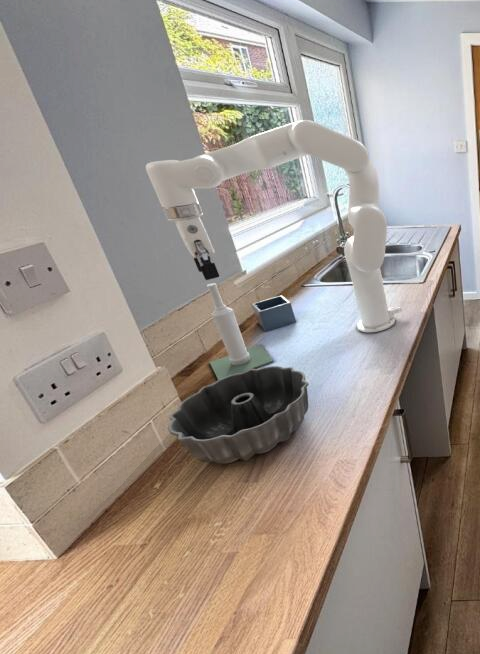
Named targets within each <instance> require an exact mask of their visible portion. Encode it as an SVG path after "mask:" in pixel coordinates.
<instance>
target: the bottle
mask: <svg viewBox="0 0 480 654" xmlns="http://www.w3.org/2000/svg"><path fill="white" fill-rule="evenodd" d="M206 287H207V289H208V292H209V293H210V296H211V299H212V301H213V304H214V310H213V311H212V313H211V318H212V320H213V322H214V324H215V327H216V328H217V331H218V333H219V336H220V339H221V340H222V343H223V345H224V348H225V350H226V353H227V354H228V356H229V357H230V358H229V360H230V362H231V364H232V365H235V366H237V365H242V364H245V363H247V362H248V361H249V360H250V355H249V353H248V352H247V350H246V349H247V347H246V344H245V342H244V339H243V335H242V333H241V329H240V326H239V324H238V321H237V318H236V315H235V312H234V309H233V308H231V307H228V306H227V305H226V304H224V301H223V300H222V297H221V294H220V292H219V288H218V285H217V283H216V282H212V283H208V284H207V285H206Z"/></svg>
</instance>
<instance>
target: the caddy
mask: <svg viewBox="0 0 480 654" xmlns="http://www.w3.org/2000/svg"><path fill="white" fill-rule="evenodd" d="M251 307H252V309H253V312H254V316H255V318H256V321H257V323H258V325H260V327H261V328H262V329H263V330H264V331H265V332H269V331H271V330H275V329H279V328H281V327H284V326H286V325H289V324H293V323H296V322H297V320H296V315H295V313H294V310H293V306H292V303H291V301H290V300H288V298H286V297H285V296H283V295H277V296H273V297H269V298H267V299H264V300H260V301H257V302H254V303H251Z"/></svg>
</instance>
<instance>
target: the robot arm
mask: <svg viewBox="0 0 480 654" xmlns="http://www.w3.org/2000/svg"><path fill="white" fill-rule="evenodd" d="M369 154H370V153H369V151H368V149H367V147H366V146H365V145H364V144H363V143H362V142H361V141H359V140H357V139H356V138H355V139H354V138H352V137H350V136H347V135H345V134H343V133H341V132H339V131H335V130H333V129H331V128H329V127H327V126H325V125H323V124H320V123H318V122H316V121H313V120H310V119H303V120H298V121H297V120H296V121H294V122H291V123H288V124H285V125H282V126H279V127H275V128H273V129H270V130H267V131H264V132H260V133H257V134H255V135H251V136H249V137H247V138H244V139H242V140H241V141H239V142H236V143H233V144H231V145H227V146H225V147H222V148H219V149H216V150H212V151H210V152H207V153H204V154H203V153H202V154H201V155H197V156H195V157H193V158H188V159H184V160H177V159H165V160H156V161H150V162H148V163H147V164H145V170H146V173H147V176H148V178H149V180H150V182H151V185H152V187H153V189H154V191H155V194H156V196H157V199H158V201H159V204H160V206H161V209H162V210H163V213H164V215H165V217H166V221H168V222H174V224H175V226H176V228H177V231H178V233H179V236H180V238H181V239H182V242H183V244H184V246H185V247H186V249H187V251H188V252H189V254H190V255H191V256H192V257H193V261H194V263H195V265H196V268H197V270H198V272H200V273H202V276H203V278H204V280H206V281H210V280H213V279H217V278H219V277H220V274H219V271H218V269H217V266H216V264H215V262H214V261H213V259H212V257H211V255H213V254H216V251H215V249H214V246H213V244H212V241H211V240H210V239H211V238H210V237H209V235H208V232H207V229H206V228H205V225H204V222H203V221H202V219H201V217H202V216H203V215H204V213H203V211H202V207H201V205H200V203H199V199H198V197H197V195H196V192H195V189H196V190H198V189H200V190H201V189H203V190H204V189H205V190H206V189H214V188H217V187H218V186H220V185H221V184H222V183H223V182H224V181H227V180H230V179H233V178H235V177H238V176H241V175H244V174H246V173H247V174H248V173H250V172H255V171H264V170H269V169H273V168H275V167H278V166H281V165H283V164H286V163H289V162H292V161H294V160H298V159H300V158H303V157H306V156H311V157H313V158H316V159H318V160H321V161H323V162H326V163H328V164H332V165H334V166H335V167H338V168H341V169H343V170H344V172H345V174H346V175H347V179H348V186H349V187H348V188H349V190H348V191H349V192H348V193H349V195H348V209H347V221H348V224H349V225H350V227H351V228H352V229H353V235H352V236H350V237H349V238H348V239H347V240H346V241H345V243H344V248H343V253H344V257H345V261H346V265H347V267H348V271H349V275H350V278H351V282H352V283H351V284H352V288H353V292H354V297H355V301H356V305H357V310H358V315H359V318H360V320H359V321H358V322H357V324H356V327H357V330H358V331H360V332H362V333H369V334H371V333H378V332H382V331H385V330H388V329H390V328H391V327H392V326H394V325H395V323H396V320H395V319H396V318H395V317H394V316H395V315H396V314H400V313H402V312H403V309H402V306H398V307H395V306H392V307H388V301H387V296H386V292H385V285H384V281H383V280H384V279H383V275H382V271H381V270H382V269H381V267H382V266H383V264H384V261H385V257H386V248H387V247H386V246H387V231H388V221H387V217H386V215H385V214H384V212H383V210H382V209H381V208H379V185H380V184H379V176H378V172H377V169H376V167H375V165H374V163H373V162H372V161H373V160H371V158H370V155H369Z"/></svg>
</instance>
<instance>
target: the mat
mask: <svg viewBox="0 0 480 654" xmlns="http://www.w3.org/2000/svg"><path fill="white" fill-rule="evenodd" d="M246 350H247V352H248V353H249V355H250V360H249V361H248V362H247V363H245V364H242V365H237V366H235V365H232V364H231V362H230V360H229V358H230V357H229V355H226V356H224V357H220V358H217V359H214V360H212V361H209V365H210V366H211V368H212V371H213V372H214V374H215V375H214V376H216V378H217V381H218V380H220V379H222V378H224V377H227V376H230V375H233V374H237V373H243V372H245V371H247V370H249V369H259V368H262V367H264V366H266V365H268V364H272V363H274V360H273V358H272V357H271V356H270V355H269V353H268V352H267V351H266V350H265V348H264V347H263V346H262V344H258V345H255V346H252V347H250V348H246Z"/></svg>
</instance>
